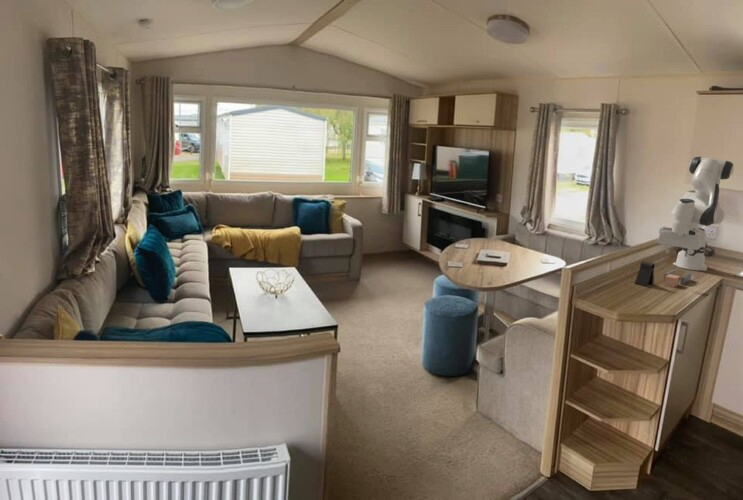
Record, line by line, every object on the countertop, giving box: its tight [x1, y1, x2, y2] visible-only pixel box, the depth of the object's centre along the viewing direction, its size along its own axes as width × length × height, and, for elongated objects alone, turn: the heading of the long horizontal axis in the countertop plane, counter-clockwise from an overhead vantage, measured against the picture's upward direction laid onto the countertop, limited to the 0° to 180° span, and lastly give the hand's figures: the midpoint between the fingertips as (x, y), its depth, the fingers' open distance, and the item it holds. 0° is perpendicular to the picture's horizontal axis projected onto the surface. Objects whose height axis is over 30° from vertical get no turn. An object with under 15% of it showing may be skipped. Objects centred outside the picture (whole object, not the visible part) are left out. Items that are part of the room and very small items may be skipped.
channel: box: [663, 268, 693, 285], centre depth 313 cm, size 16×10×4 cm, turn 138°
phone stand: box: [634, 260, 655, 287], centre depth 299 cm, size 9×6×12 cm, turn 127°
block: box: [663, 274, 681, 288], centre depth 302 cm, size 8×5×5 cm, turn 136°
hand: (676, 254), depth 300 cm, fingers open, 8 cm apart
